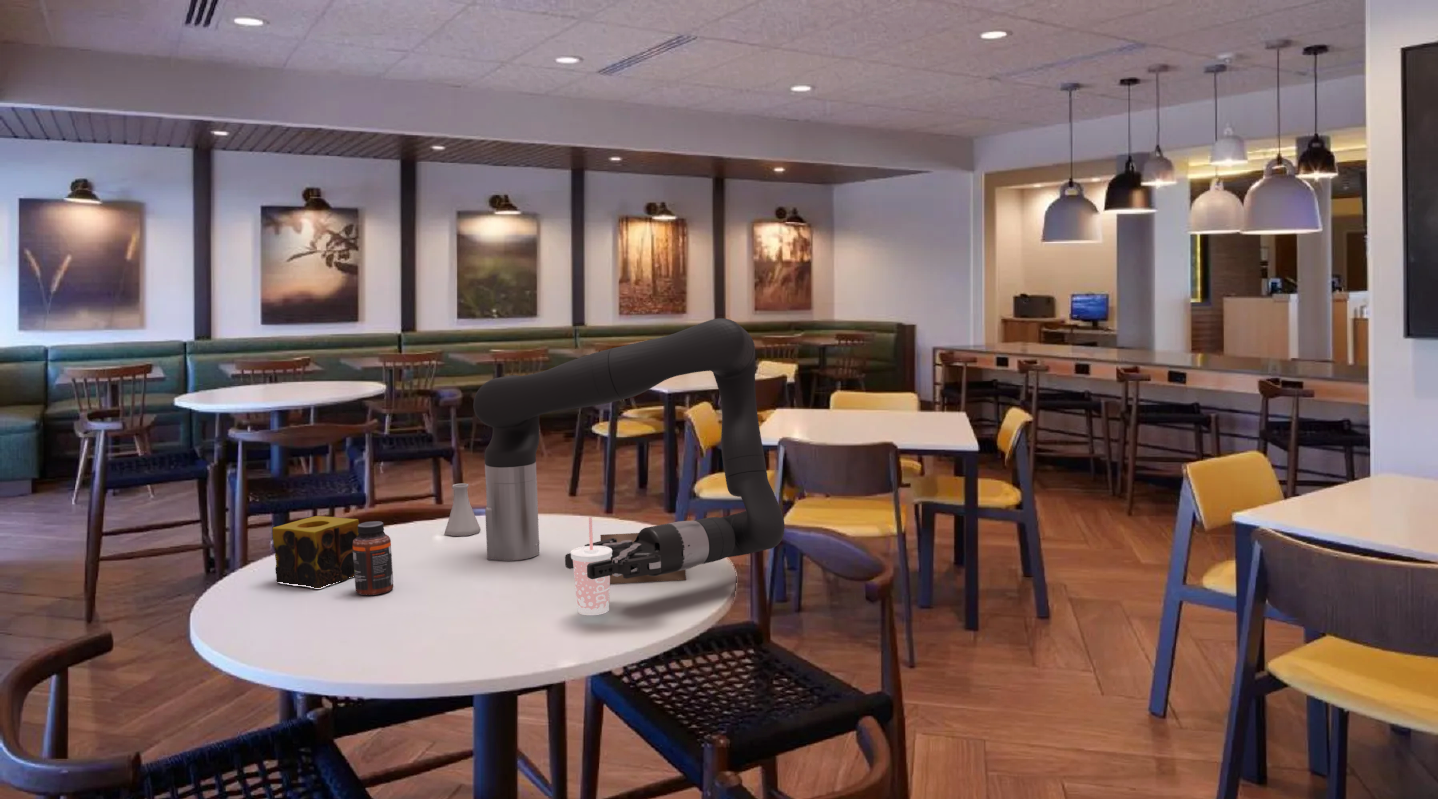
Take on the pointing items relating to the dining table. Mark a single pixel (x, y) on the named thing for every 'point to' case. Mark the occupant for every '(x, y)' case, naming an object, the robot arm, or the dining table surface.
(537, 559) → the dining table surface
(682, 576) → the walnut riser block
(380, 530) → the supplement bottle
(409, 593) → the dining table surface
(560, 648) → the dining table surface
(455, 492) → the flask
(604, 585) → the beverage cup
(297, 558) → the yellow tissue box cover
